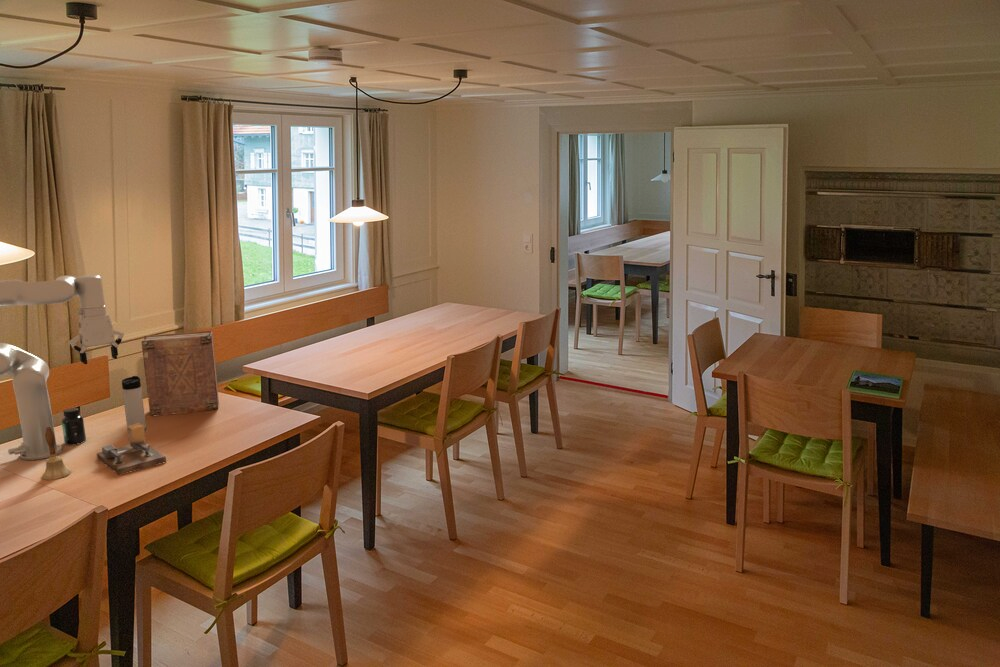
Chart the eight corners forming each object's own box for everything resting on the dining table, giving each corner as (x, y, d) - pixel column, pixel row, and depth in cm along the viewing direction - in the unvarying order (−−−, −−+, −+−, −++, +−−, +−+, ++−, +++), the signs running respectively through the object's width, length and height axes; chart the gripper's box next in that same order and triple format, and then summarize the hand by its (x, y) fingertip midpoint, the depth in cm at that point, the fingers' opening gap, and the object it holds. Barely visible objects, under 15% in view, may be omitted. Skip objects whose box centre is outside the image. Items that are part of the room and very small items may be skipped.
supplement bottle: (63, 446, 285) (58, 413, 283) (65, 440, 292) (61, 408, 289) (85, 443, 288) (80, 411, 285) (87, 437, 294) (82, 405, 291)
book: (149, 416, 316) (140, 341, 310) (152, 409, 325) (143, 335, 318) (218, 409, 323) (211, 335, 317) (219, 402, 332) (212, 330, 325)
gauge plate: (118, 475, 259) (116, 459, 258) (97, 458, 273) (95, 444, 272) (166, 462, 269) (164, 447, 268) (143, 447, 283) (141, 432, 282)
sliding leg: (142, 456, 267) (139, 433, 266) (129, 447, 276) (126, 425, 274) (154, 453, 270) (151, 430, 268) (141, 444, 278) (138, 422, 277)
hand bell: (43, 482, 255) (36, 433, 251) (39, 473, 261) (32, 426, 258) (73, 475, 260) (66, 427, 256) (68, 467, 266) (61, 421, 263)
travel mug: (150, 427, 303) (143, 375, 299) (140, 433, 297) (134, 380, 292) (134, 427, 304) (127, 375, 299) (124, 433, 297) (117, 380, 293)
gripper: (69, 317, 267) (76, 367, 271) (123, 309, 279) (129, 358, 283) (62, 314, 273) (69, 363, 277) (116, 306, 284) (122, 354, 288)
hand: (99, 360), depth 280 cm, fingers open, 9 cm apart
